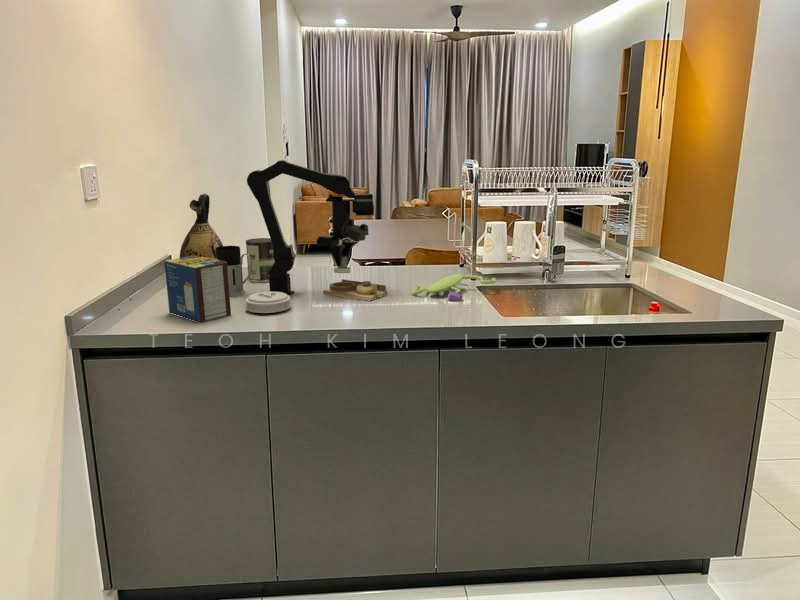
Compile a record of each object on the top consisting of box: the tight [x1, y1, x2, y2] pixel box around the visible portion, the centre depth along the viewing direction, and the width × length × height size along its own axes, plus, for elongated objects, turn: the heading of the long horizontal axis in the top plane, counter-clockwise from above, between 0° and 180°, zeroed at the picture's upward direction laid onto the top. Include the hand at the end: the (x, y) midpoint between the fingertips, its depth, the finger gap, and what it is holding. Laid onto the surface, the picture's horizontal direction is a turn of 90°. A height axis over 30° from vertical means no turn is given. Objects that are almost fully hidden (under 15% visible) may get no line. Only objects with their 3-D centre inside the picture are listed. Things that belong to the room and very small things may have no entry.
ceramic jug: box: [179, 193, 224, 259], centre depth 212 cm, size 17×15×30 cm
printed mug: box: [245, 237, 275, 283], centre depth 214 cm, size 10×10×14 cm
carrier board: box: [322, 279, 388, 302], centre depth 194 cm, size 10×18×5 cm, turn 59°
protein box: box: [163, 256, 232, 323], centre depth 170 cm, size 10×15×16 cm
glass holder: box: [216, 245, 252, 298], centre depth 192 cm, size 9×14×15 cm, turn 59°
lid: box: [245, 291, 291, 314], centre depth 176 cm, size 13×13×5 cm
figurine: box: [411, 272, 497, 302], centre depth 196 cm, size 18×27×6 cm
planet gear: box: [333, 256, 351, 274], centre depth 195 cm, size 5×5×5 cm
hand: (342, 264), depth 195 cm, fingers closed on planet gear, 3 cm apart
